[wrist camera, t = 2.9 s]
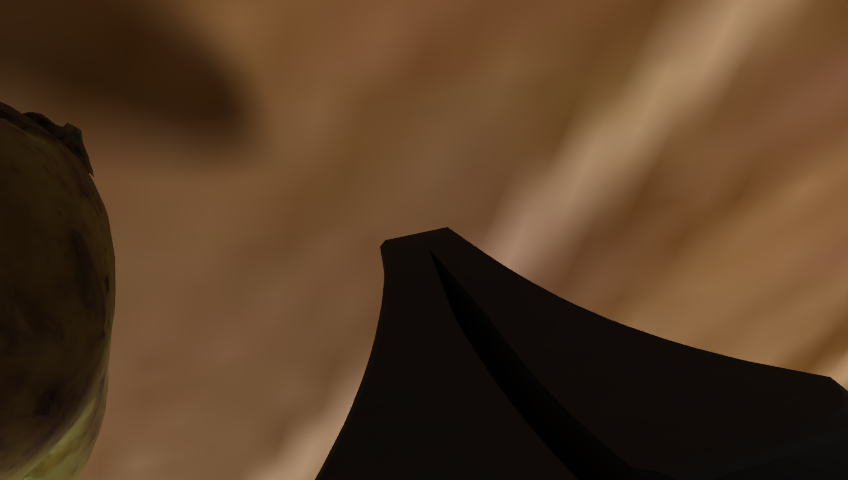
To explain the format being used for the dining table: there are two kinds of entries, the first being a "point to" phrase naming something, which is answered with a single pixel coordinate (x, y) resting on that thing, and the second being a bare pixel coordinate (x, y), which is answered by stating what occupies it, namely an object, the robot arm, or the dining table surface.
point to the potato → (51, 300)
